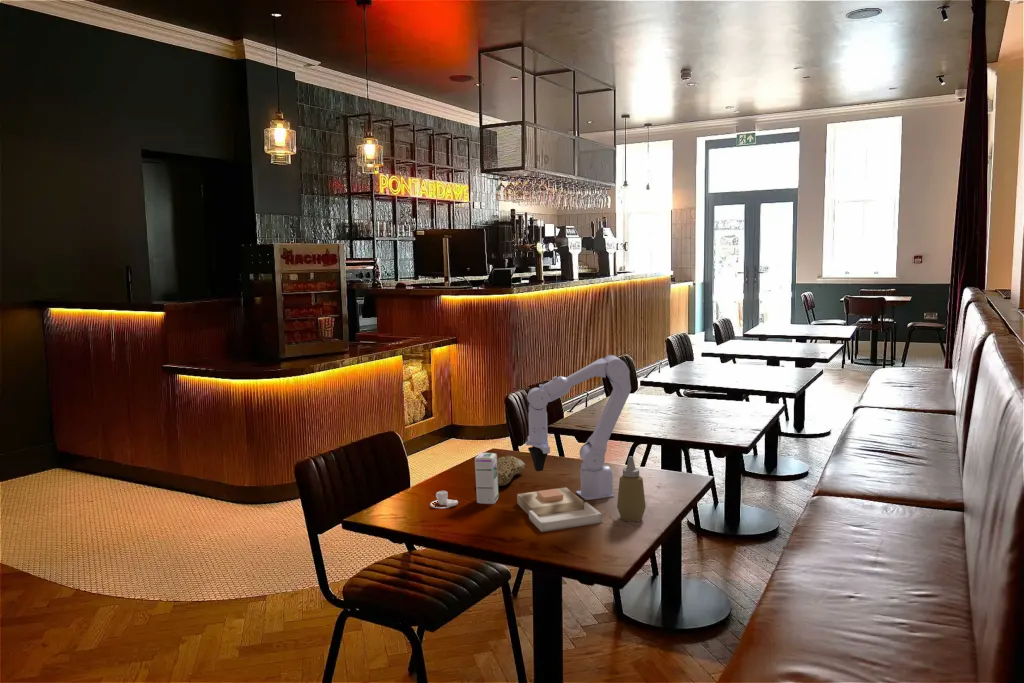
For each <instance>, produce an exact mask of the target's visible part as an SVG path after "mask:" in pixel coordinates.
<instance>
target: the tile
mask: <svg viewBox="0 0 1024 683" xmlns="http://www.w3.org/2000/svg"><path fill="white" fill-rule="evenodd" d="M557 489H558V488H551V489H542V490H537V496H538V497H539V498H540V499H541V500H542V501H543V502H551V501H558V500H563V494H562V493H560V492H559V491H558V490H557Z"/></svg>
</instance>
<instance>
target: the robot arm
mask: <svg viewBox="0 0 1024 683" xmlns="http://www.w3.org/2000/svg"><path fill="white" fill-rule="evenodd" d="M630 372H631V371H630V369H629V367H628V365H627V363H626V362H625V361H624V360H622V359H620V358H619V357H618V356H616V355H613V354H608V355H606V356H605V357H601V358H598V359H596V360H595V361H593V362H591V363H590V364H588V365H586V366H584V367H582V368H580V369H579V370H577V371H575V372H574V373H571V374H570V375H568V376H567V377H566V376H561V375H559V376H557V375H555V376H553V377H552V380H549V381H548V382H546V383H543V384H542V383H540V384H539V385H538V386H539V387H533V388H531V389H530V390H529V391H528V393H527V396H526V399H527V402H528V403H529V404H528V413H527V414H528V417H527V418H528V435H527V441H525V443H524V444H525V446H528V448H527V449H528V452H529V453H530V456H531V460H532V462H533V467H534V470H535V471H536V472H542V471H543V470H544V469H545V468H544V467H545V463H546V460H547V457H548V454H550V453H551V447H550V445H549V444H550V443H549V440H548V439H549V438H548V437H549V436H548V434H549V433H548V412H547V406H548V403H550V402H551V403H552V402H554V401H556V400H557V399H559V398H562V397H563V396H565V395H566V394H567V395H568V394H569V393H570V390H571V388H573V387H574V386H577V385H578V384H581V383H584V382H585V381H588V380H590V379H592V378H594V377H597V378H598V377H599V378H604V379H605V378H606V376H607V378H608V379H609V382H610V384H611V387H612V390H611V393H610V395H609V397H608V400H607V401H606V403H605V405H604V409H603V410H602V413H601V415H600V416H599V419H598V421H597V423H596V425H595V428H594V430H593V432H592V434H591V435H590V436H589V437H588V438H587V440H586V442H585V443H584V444H583V445H582V446H580V449H579V458H581V460H582V463H581V465H580V466H579V467H580V490H576V491H575V493H576V495H579V496H580V497H581V499H584V500H585V501H590V500H598V499H604V498H613V497H614V496H615V495H614V494H613V493H614V492H613V491H614V490H613V489H614V488H613V482H614V481H613V471H612V468H611V467H610V466H609V465H605V461H606V459H605V457H606V456H605V455H606V452H607V449H608V442H609V440H610V437H611V436H612V435H611V434H612V432H613V430H614V428H615V426H616V425H617V422H618V420H619V418H620V416H621V413H622V411H623V408H624V406H625V404H626V403H627V400H628V398H629V396H630V393H631V391H632V385H631V378H630V375H631V374H630ZM529 446H530V447H529Z"/></svg>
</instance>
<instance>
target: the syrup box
mask: <svg viewBox="0 0 1024 683" xmlns="http://www.w3.org/2000/svg"><path fill="white" fill-rule="evenodd" d="M497 459H498V454H497V452H496V453H495V452H479V453H478V455H476V457H474V468H475V469H474V472H475V475H474V476H475V488H476V490H475V491H476V492H475V493H476V494H475V495H476V503H477V504H484V505H495V504H496V502H498V499H499V495H500V494H499V486H498V473H497Z"/></svg>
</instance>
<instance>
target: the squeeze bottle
mask: <svg viewBox="0 0 1024 683" xmlns="http://www.w3.org/2000/svg"><path fill="white" fill-rule="evenodd" d="M618 482H619V483H618V492H617V502H616V505H617V506H616V508H617V511H618V512H619V513H618V514H619V515H620V518H621V520H623V521H625V522H628V523H629V522H631V523H633V522H639V521H642V519H643V516H644V514H645V510H646V508H647V507H646V506H647V505H646V496H645V488H644V479H643V477H642V476H641V475H640V469H639V467H638V468H637V467H636V465H635V460H634V457H633V456H632V455H631V456H630V455H629V456H628V458H627V463H626V467H624V468H622V475H621V476H619V481H618Z"/></svg>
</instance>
